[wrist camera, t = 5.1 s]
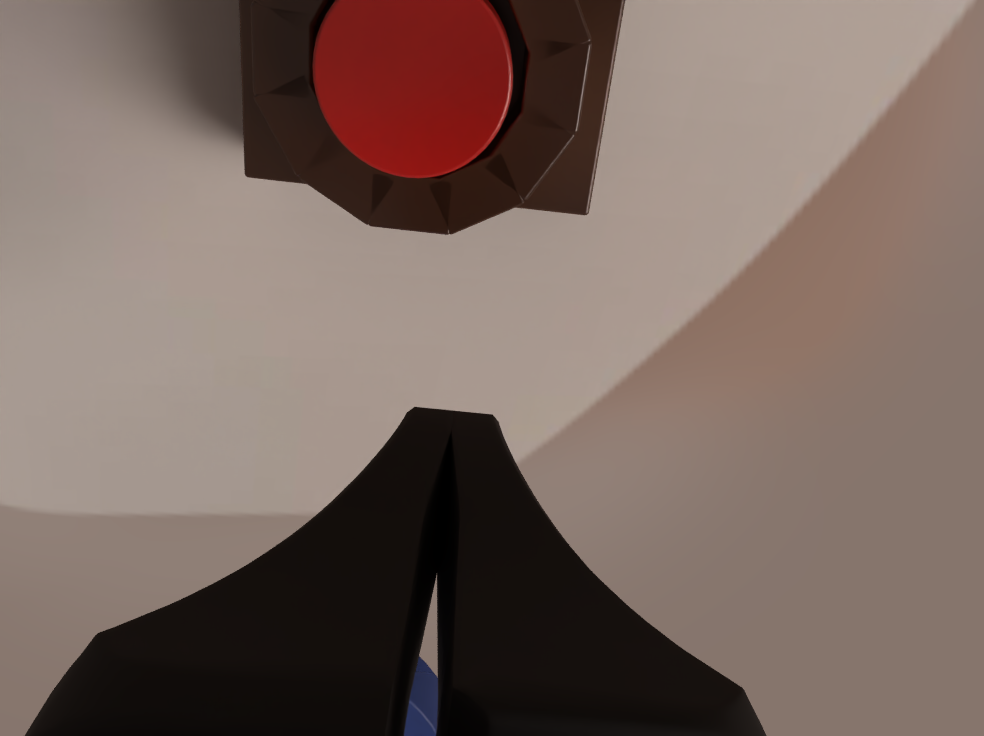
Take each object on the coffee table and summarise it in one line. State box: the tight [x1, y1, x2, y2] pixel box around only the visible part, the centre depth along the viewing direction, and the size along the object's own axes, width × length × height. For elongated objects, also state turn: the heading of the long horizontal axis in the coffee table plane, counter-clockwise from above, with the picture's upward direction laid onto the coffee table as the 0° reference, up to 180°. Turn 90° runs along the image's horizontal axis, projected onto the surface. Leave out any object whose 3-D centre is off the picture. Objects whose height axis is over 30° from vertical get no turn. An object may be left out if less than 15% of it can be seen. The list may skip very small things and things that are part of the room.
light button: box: [312, 0, 513, 178], centre depth 15 cm, size 4×4×2 cm
